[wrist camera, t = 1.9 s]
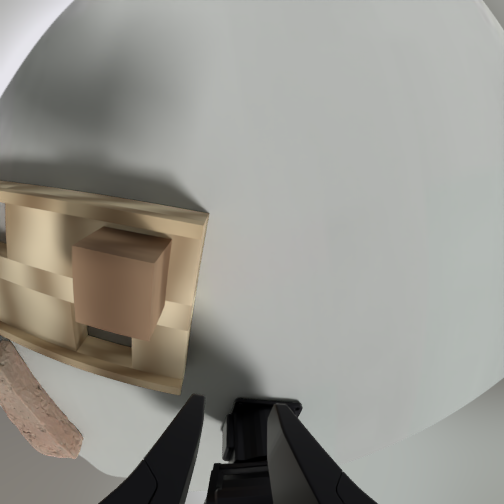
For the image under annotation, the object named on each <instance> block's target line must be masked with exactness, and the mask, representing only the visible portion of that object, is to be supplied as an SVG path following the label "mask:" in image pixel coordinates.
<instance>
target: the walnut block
mask: <svg viewBox="0 0 504 504" xmlns="http://www.w3.org/2000/svg"><path fill="white" fill-rule="evenodd" d="M171 245H172V239H167V238H162V237H157V236H152V235H147V234H142V233H136V232H131V231H126V230H121V229H116V228H110V227H105V226H103V227H102V228H100V229H98V230H97V231H95V232H93V233H92V234H90V235H88V236H87V237H85V238H83V239H82V240H80V241H78V242H77V243H75V244H74V245H72V277H73V296H74V308H75V319H76V322H78V323H81V324H85V325H88V326H91V327H95V328H98V329H101V330H105V331H109V332H112V333H116V334H120V335H124V336H127V337H131V338H135V339H139V340H144V341H148V342H149V341H150V339H151V337H152V334H153V332H154V329H155V327H156V325H157V322H158V320H159V318H160V315H161V313H162V311H163V308H164V306H165V297H166V287H167V277H168V269H169V260H170V252H171Z"/></svg>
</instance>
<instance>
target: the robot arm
mask: <svg viewBox="0 0 504 504" xmlns="http://www.w3.org/2000/svg"><path fill="white" fill-rule="evenodd" d="M204 406H205V396H204V395H201V394H192V395H191V397H190V398H189V399H188V401H187V402H186V403H185V405H184V406H183V407H182V409H181V410H180V411H179V413H178V414H177V415H176V417H175V418H174V419H173V421H172V422H171V423H170V425H169V426H168V427H167V429H166V430H165V431H164V433H163V434H162V435H161V437H160V438H159V439H158V441H157V442H156V443H155V444H154V446H153V447H152V448H151V450H150V451H149V452H148V453H147V455H146V456H145V457H144V460H142V461H141V462H140V463H139V465H138V466H137V467H136V468H135V470H134V471H133V472H132V473H131V474H130V475H129V476H128V478H127V479H126V480H124V481H123V483H121V484H120V485H119V486H118V487H117V488H116V489H115V490H114V491H113V492H111V493H110V494H109V495H108V496H107V497H106V498H104V499H103V500H102V501H101V502H100V503H98V504H185V500H186V497H187V493H188V489H189V485H190V481H191V477H192V473H193V470H194V466H195V462H196V458H197V453H198V448H199V443H200V437H201V432H202V426H203V420H204ZM301 411H302V404H301V403H292V402H276V401H263V400H252V399H243V398H238V399H236V400H235V401H234V405H233V408H232V412H231V414H228V415H227V416H226V419H225V423H224V426H223V447H222V459H223V460H224V461H229V464H221V463H214V466H213V470H212V471H211V476H210V481H209V487H208V493H207V497H206V500H205V502H204V504H377V502H375V501H374V500H373V499H372V498H370V497H369V496H368V495H367V494H366V493H364V492H363V491H362V490H361V489H360V488H359V487H358V486H357V485H356V484H355V483H354V482H353V481H352V480H351V479H350V478H349V477H348V476H347V475H346V474H345V473H344V472H342V469H341V468H340V467H339V466H338V465H337V464H336V463H335V462H334V460H333V459H332V458H331V457H330V456H329V455H328V454H327V452H326V451H325V450H324V449H323V448H322V447H321V445H320V444H319V443H318V442H317V441H316V440H315V438H314V437H313V436H312V435H311V434H310V432H309V431H308V430H307V429H306V428H305V426H304V425H303V424H302V423H301V421H300V420H299V419H298V416H299V414H300V413H301Z"/></svg>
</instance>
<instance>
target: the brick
mask: <svg viewBox="0 0 504 504" xmlns="http://www.w3.org/2000/svg"><path fill="white" fill-rule="evenodd" d="M0 405H1V406H2V408H3V409H4V411H5V412H6V413H7V416H8V418H9V419H10V420H11V421H12V422H13V423H14V424H15V425H16V426H17V428H18V429H19V431H20V432H21V434H22V435H23V436H24V437H25V438H26V440H27V441H28V442H29V443H30V444H31V445H32V446H33V448H35V449H36V450H37V451H38V452H40V453H42V454H44V455H47V456H53V457H54V456H55V457H59V458H61V457H63V458H66V457H68V458H73V459H75V458H76V457H77V456H78V454H79V452H80V449H81V445H82V440H83V437H82V435H81V434H80V432H79V431H78V430H77V429H76V427H75V426H74V425H73V424H72V423H71V422H70V421H68V418H67V417H66V416H65V415H64V414H63V413H62V411H61V410H60V409H59V408H58V406H57V405H56V404H55V403H54V401H53V400H52V399H51V398H50V397H49V395H48V394H47V393H46V392H45V390H44V389H43V388H42V387H41V385H40V384H39V382H38V381H37V380H36V378H35V377H34V376H33V374H32V373H31V371H30V370H29V368H28V367H27V365H26V364H25V362H24V361H23V359H22V358H21V357H20V356H19V354H18V353H17V351H16V349H15V347H14V346H13V344H12V343H11V342H10V341H4V340H2V341H1V342H0Z"/></svg>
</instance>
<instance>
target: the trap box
mask: <svg viewBox="0 0 504 504" xmlns="http://www.w3.org/2000/svg"><path fill="white" fill-rule="evenodd" d="M0 202H3V203H6V204H5V219H6V243H3V242H0V335H1V336H3V337H5V338H7V339H9V340H11V341H13V342H15V343H18V344H20V345H22V346H24V347H26V348H28V349H31V350H33V351H35V352H38V353H40V354H42V355H45V356H47V357H50V358H52V359H55V360H57V361H60V362H63V363H65V364H68V365H71V366H73V367H76V368H79V369H82V370H85V371H88V372H91V373H94V374H97V375H100V376H103V377H107V378H110V379H113V380H117V381H120V382H124V383H128V384H132V385H135V386H139V387H143V388H147V389H152V390H156V391H160V392H165V393H170V394H175V395H180V394H181V389H182V384H183V378H184V373H185V369H186V361H187V353H188V345H189V338H190V330H191V323H192V316H193V309H194V302H195V295H196V289H197V282H198V276H199V270H200V263H201V258H202V252H203V246H204V240H205V234H206V229H207V223H208V218H209V213H204V212H198V211H193V210H188V209H182V208H177V207H171V206H166V205H160V204H154V203H148V202H143V201H137V200H131V199H125V198H119V197H112V196H106V195H100V194H94V193H87V192H80V191H74V190H67V189H60V188H53V187H46V186H39V185H31V184H23V183H16V182H7V181H0ZM103 226H105V227H110V228H116V229H121V230H126V231H131V232H136V233H142V234H147V235H152V236H157V237H162V238H167V239H172V245H171V252H170V260H169V269H168V277H167V287H166V297H165V306H164V308H163V311H162V313H161V315H160V318H159V320H158V322H157V325H156V327H155V329H154V332H153V334H152V337H151V339H150V341H149V342H148V341H144V340H139V339H135V338H132V347H128V346H124V345H120V344H116V343H113V342H109V341H106V340H102V339H99V338H95V337H92V336H89V335H88V330H87V325H85V324H81V323H78V322H76V319H75V308H74V296H73V277H72V245H74V244H75V243H77V242H78V241H80V240H82V239H83V238H85V237H87V236H88V235H90V234H92V233H93V232H95V231H97V230H98V229H100V228H102V227H103Z"/></svg>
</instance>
